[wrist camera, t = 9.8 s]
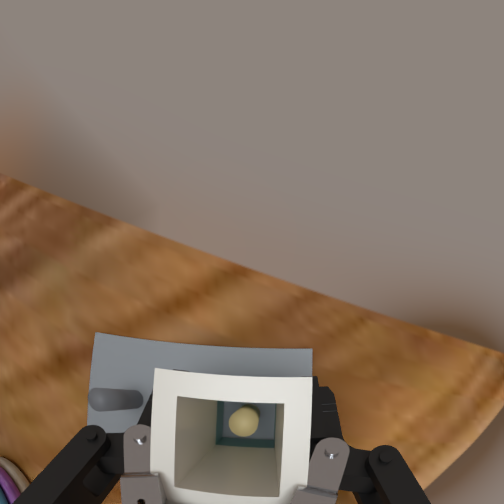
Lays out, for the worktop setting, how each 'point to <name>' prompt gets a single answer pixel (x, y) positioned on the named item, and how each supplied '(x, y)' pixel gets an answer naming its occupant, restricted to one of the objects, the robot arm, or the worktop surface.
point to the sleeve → (228, 439)
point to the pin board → (189, 359)
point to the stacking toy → (11, 482)
